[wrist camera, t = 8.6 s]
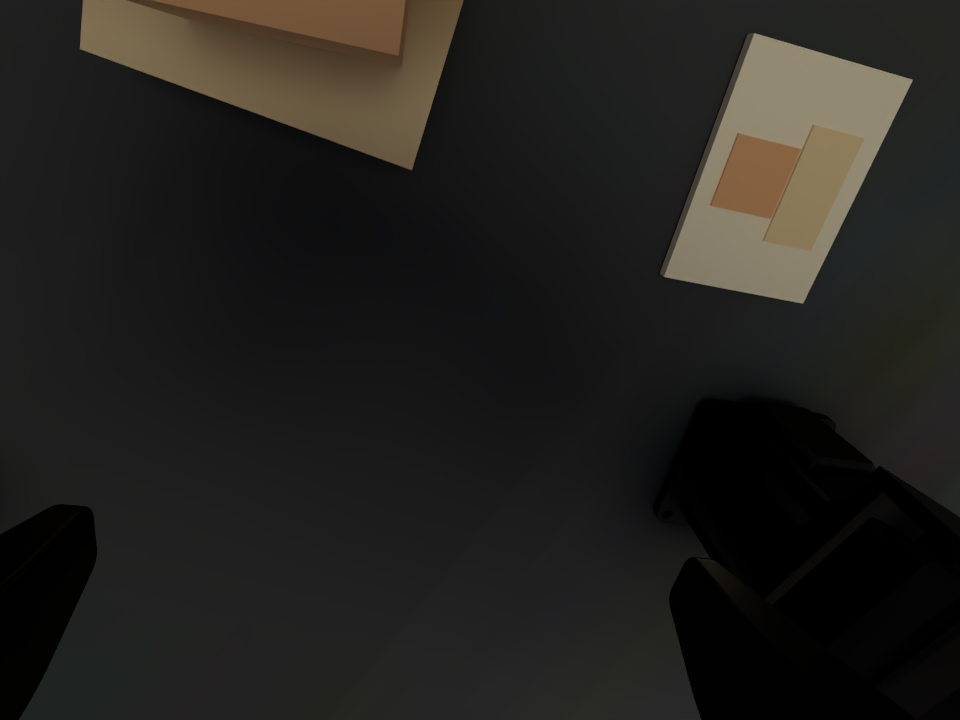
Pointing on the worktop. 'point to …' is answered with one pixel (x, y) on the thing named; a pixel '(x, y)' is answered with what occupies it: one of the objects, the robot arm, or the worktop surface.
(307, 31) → the terracotta cube
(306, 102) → the maple base block
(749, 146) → the card
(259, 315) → the worktop surface
